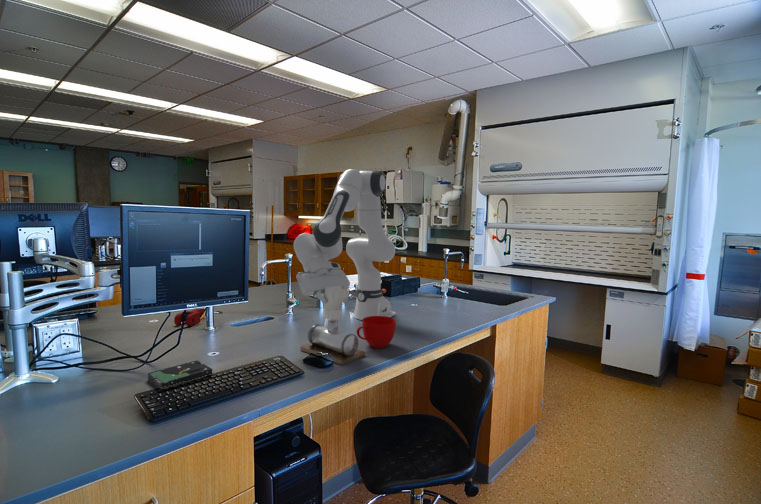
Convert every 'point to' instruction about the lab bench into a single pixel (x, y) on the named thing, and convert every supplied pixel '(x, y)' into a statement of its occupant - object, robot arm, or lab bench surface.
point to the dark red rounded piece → (189, 317)
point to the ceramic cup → (378, 330)
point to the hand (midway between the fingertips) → (334, 301)
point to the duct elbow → (334, 301)
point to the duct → (333, 343)
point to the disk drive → (178, 374)
